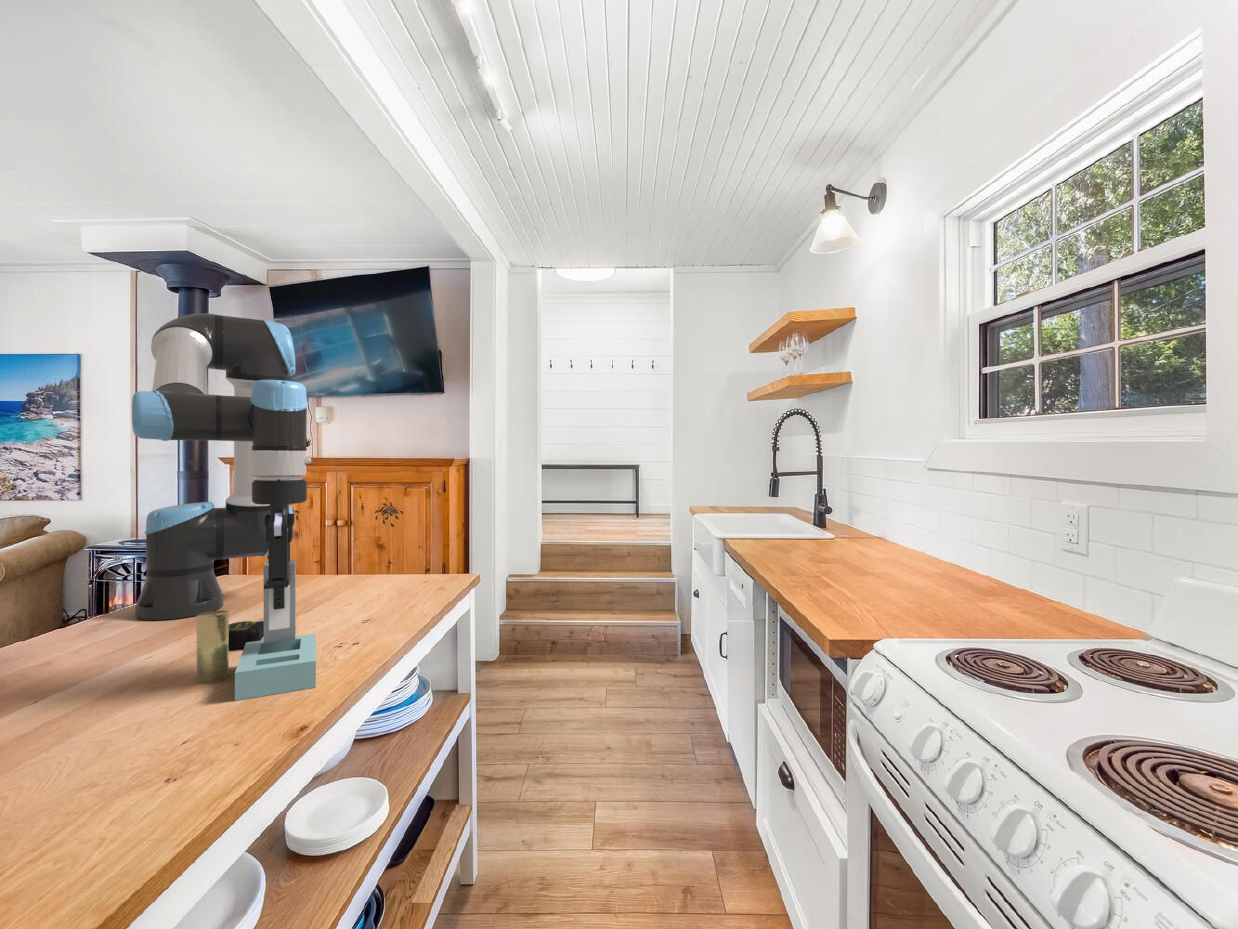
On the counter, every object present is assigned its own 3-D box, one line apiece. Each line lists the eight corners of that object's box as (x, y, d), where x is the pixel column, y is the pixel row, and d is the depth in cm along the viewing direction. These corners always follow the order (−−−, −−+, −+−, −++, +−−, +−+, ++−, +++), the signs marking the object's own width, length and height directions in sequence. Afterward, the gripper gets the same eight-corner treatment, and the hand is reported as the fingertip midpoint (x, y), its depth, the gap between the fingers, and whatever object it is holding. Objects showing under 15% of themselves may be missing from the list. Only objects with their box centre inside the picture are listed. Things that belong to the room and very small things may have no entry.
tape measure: (259, 650, 99) (259, 629, 99) (213, 653, 97) (213, 632, 97) (270, 637, 105) (270, 618, 105) (228, 641, 103) (228, 621, 103)
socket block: (246, 666, 91) (246, 642, 91) (315, 656, 95) (315, 633, 95) (234, 700, 78) (234, 672, 78) (315, 687, 83) (315, 660, 83)
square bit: (265, 635, 90) (265, 561, 90) (295, 631, 92) (295, 559, 92) (263, 643, 86) (263, 566, 86) (294, 639, 88) (294, 564, 88)
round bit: (199, 675, 87) (199, 612, 87) (230, 671, 89) (230, 609, 89) (194, 685, 83) (194, 619, 83) (226, 680, 85) (226, 615, 85)
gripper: (306, 480, 83) (306, 636, 83) (307, 475, 98) (307, 607, 98) (245, 481, 79) (246, 644, 80) (257, 476, 94) (257, 613, 95)
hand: (280, 623), depth 89 cm, fingers closed on square bit, 4 cm apart
